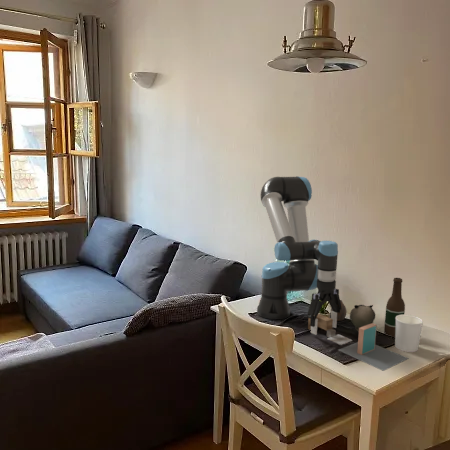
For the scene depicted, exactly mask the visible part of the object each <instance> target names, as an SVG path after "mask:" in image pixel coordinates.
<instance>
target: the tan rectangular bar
mask: <svg viewBox="0 0 450 450" xmlns="http://www.w3.org/2000/svg"><path fill="white" fill-rule="evenodd" d="M377 327H378V326H377V324H376V323H374V322H373V323H371V324H368V325H366V326H363V327H360V328H359V331H358V338H357V339H358V340H357V342H358V350H357V353H358V354H361V355H363V354H365V353H367V352H370V351H372V350H375V345H376V338H377V337H376V336H377Z"/></svg>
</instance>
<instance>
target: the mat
mask: <svg viewBox="0 0 450 450" xmlns="http://www.w3.org/2000/svg"><path fill="white" fill-rule="evenodd" d="M357 350H358V341H357V342H353V343H352V344H350V345H349V344H348V345H347V346H344V347H342V348H339V349H338V351H339V352H341V353H343V354H345V355H347V356H350V357H352V358H354V359H356V360H358V361H361V362H362V363H365V364H368V366H369V365H370V366H371V367H373V368H376V369H378V370H381V371H383V372H384V371H386V370H388V369H390V368H392V367H394V366H396V365H398V364H401V363H403V362H405V361H407V360H409V357H406V356H404V355H401V354H400V353H396V352H395V351H393V350H390V349H387V348H385V347H382V346H379V345H377V344H375V350H372V351H370V352H367V353H365V354H363V355H361V354H358V353H357Z"/></svg>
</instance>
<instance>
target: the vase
mask: <svg viewBox="0 0 450 450" xmlns="http://www.w3.org/2000/svg"><path fill="white" fill-rule="evenodd" d="M340 302H341V307H342V309H341V310H340V313H338V315H337V322H341V321H343V320H345V318H346V317H347V312H348V311H347V307H346V305H345V303H344V302H343V300H342V299H340ZM331 311H333V310H332V308H331V307H330V312H331Z"/></svg>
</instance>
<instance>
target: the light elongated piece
mask: <svg viewBox="0 0 450 450" xmlns="http://www.w3.org/2000/svg"><path fill="white" fill-rule="evenodd" d="M307 319H308V320H307V321H308V323H307V330H308V329H309V330H308V331H310V330H311V326H310V320H311V319H310V318H308V317H307ZM316 319H318V321H317V328H320V329H323V330H324V331H326V338H327V337H328V338H327V340H328V341H331V342H333V343H335V344H338V345H339V346H343V345H346V344H347V343H351V342H353V340H352V339H351V338H348V337H346V336H344V335H341V334H336V333H337V332H336V329H334V328H333V327H332V324H333V319H331V317H327V316H326V315H323V314H320V313H318V316H317V318H316Z"/></svg>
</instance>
